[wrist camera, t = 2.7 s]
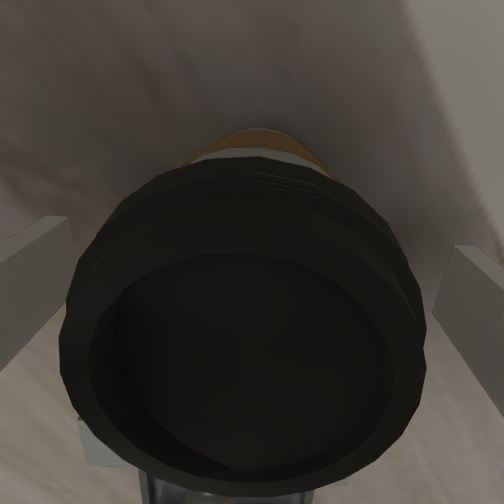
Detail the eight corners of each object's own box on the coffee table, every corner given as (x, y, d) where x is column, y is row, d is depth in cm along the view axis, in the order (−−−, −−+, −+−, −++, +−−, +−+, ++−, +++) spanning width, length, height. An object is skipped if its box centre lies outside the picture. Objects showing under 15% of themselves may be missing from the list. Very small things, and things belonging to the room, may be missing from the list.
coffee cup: (186, 245, 23) (64, 495, 9) (185, 99, 19) (-19, 163, 6) (321, 256, 23) (396, 525, 9) (345, 112, 19) (531, 209, 6)
